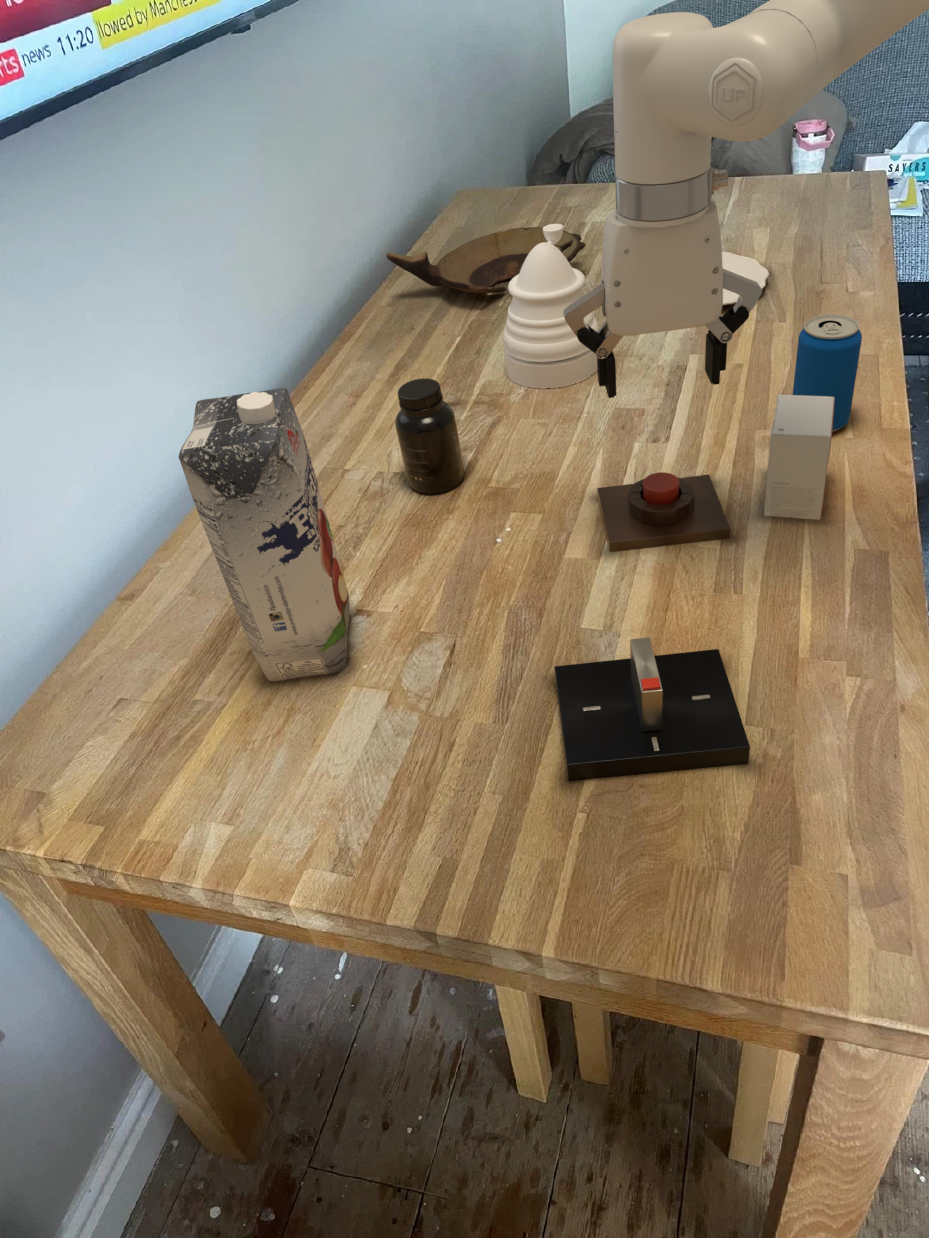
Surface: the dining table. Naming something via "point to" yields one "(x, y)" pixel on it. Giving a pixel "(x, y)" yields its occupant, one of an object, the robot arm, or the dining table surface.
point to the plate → (742, 273)
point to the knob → (646, 684)
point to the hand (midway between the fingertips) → (660, 384)
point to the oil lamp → (484, 259)
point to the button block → (662, 516)
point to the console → (610, 726)
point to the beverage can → (829, 362)
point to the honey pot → (546, 320)
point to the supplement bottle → (428, 438)
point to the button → (661, 488)
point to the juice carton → (269, 531)
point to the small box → (799, 456)
